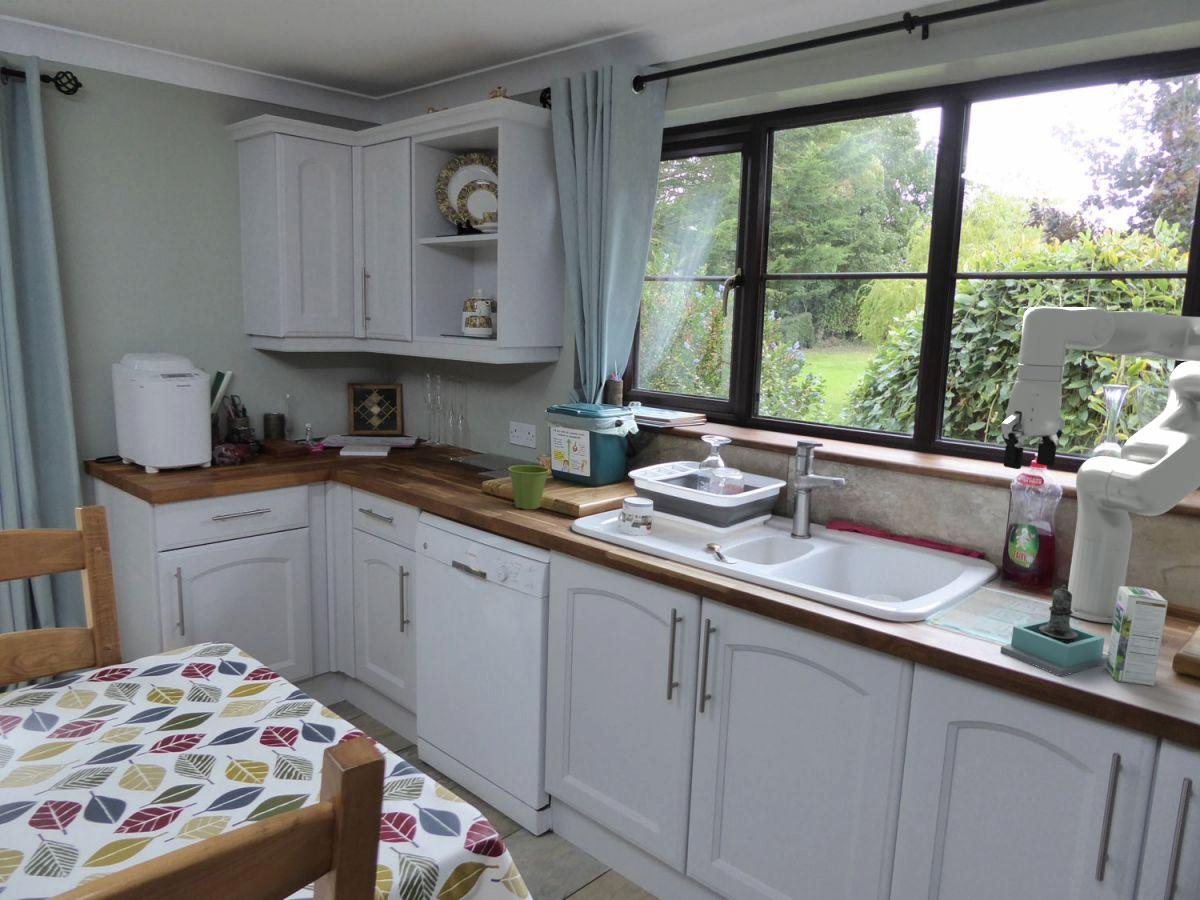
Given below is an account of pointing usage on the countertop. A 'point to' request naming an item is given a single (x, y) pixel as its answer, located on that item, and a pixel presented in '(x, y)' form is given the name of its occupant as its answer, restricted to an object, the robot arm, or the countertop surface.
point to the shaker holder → (1055, 649)
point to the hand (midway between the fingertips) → (1028, 466)
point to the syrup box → (1136, 635)
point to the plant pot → (528, 485)
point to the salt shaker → (1060, 618)
